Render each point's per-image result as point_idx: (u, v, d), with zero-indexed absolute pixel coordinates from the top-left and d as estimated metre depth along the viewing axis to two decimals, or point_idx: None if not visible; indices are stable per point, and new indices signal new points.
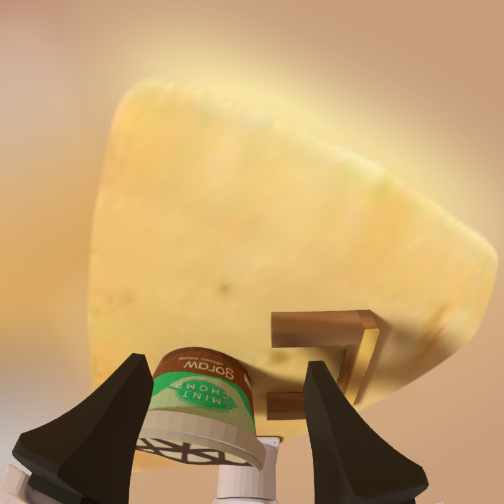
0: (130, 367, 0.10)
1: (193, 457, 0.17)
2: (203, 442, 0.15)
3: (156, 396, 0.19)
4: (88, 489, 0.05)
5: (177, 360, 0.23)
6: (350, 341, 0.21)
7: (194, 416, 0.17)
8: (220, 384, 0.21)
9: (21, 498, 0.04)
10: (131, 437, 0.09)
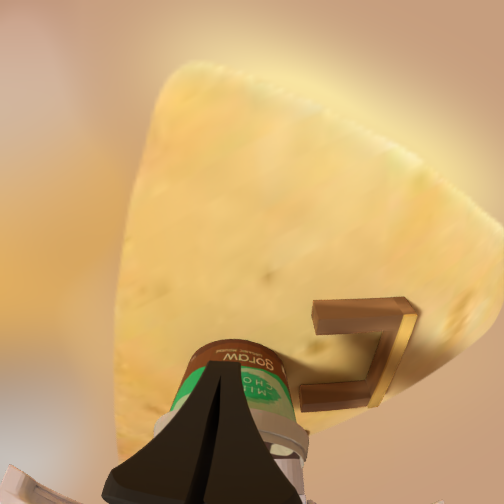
0: (215, 376, 0.10)
1: None
2: None
3: None
4: None
5: (214, 353, 0.23)
6: (389, 327, 0.20)
7: None
8: (262, 375, 0.21)
9: (21, 498, 0.04)
10: None
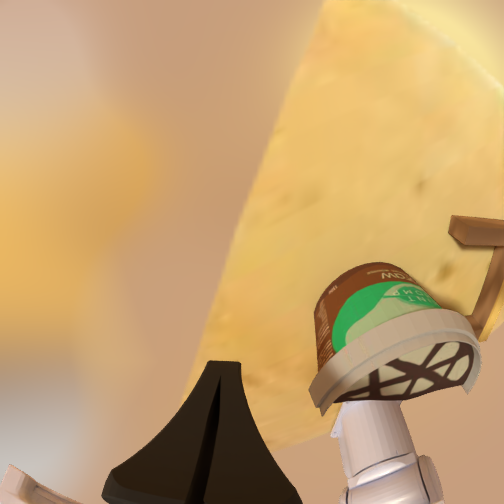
0: (215, 376, 0.10)
1: (420, 384, 0.14)
2: (464, 338, 0.12)
3: (373, 311, 0.16)
4: None
5: (367, 275, 0.19)
6: None
7: (446, 310, 0.13)
8: (424, 291, 0.17)
9: (21, 498, 0.04)
10: None
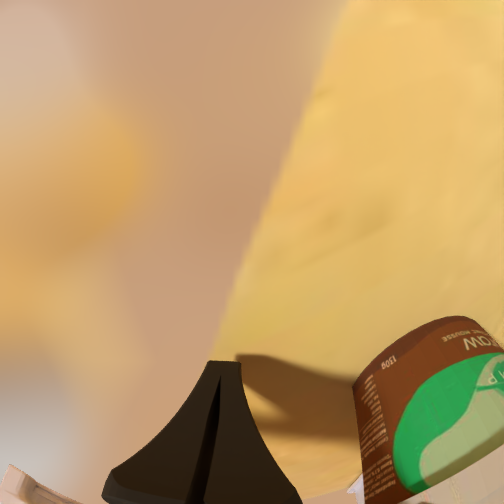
0: (215, 376, 0.10)
1: None
2: None
3: (464, 417, 0.07)
4: None
5: (443, 342, 0.10)
6: None
7: None
8: None
9: (21, 498, 0.04)
10: None
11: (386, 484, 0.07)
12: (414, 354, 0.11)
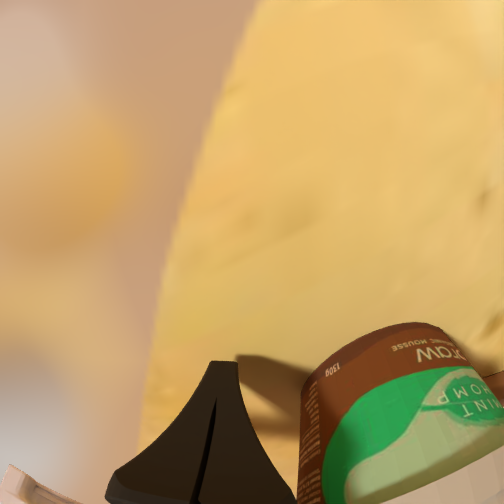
0: (217, 377, 0.10)
1: None
2: None
3: (401, 440, 0.07)
4: None
5: (392, 352, 0.10)
6: None
7: None
8: (478, 376, 0.08)
9: (21, 498, 0.04)
10: None
11: (312, 500, 0.07)
12: (358, 363, 0.11)
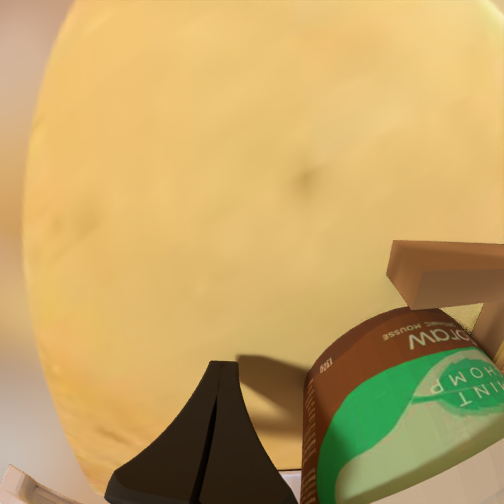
0: (217, 376, 0.10)
1: None
2: None
3: (391, 436, 0.07)
4: None
5: (382, 342, 0.10)
6: None
7: None
8: (482, 357, 0.08)
9: (21, 499, 0.04)
10: None
11: (309, 500, 0.07)
12: (349, 356, 0.11)
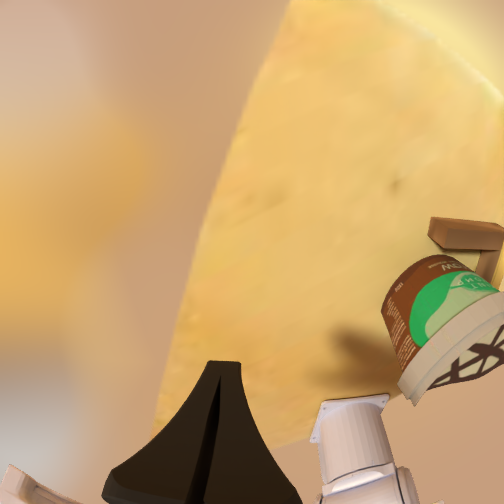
0: (215, 377, 0.10)
1: (489, 361, 0.13)
2: None
3: (445, 303, 0.15)
4: None
5: (429, 269, 0.19)
6: (495, 246, 0.17)
7: None
8: (480, 277, 0.16)
9: (21, 498, 0.04)
10: None
11: (410, 351, 0.16)
12: (412, 278, 0.19)
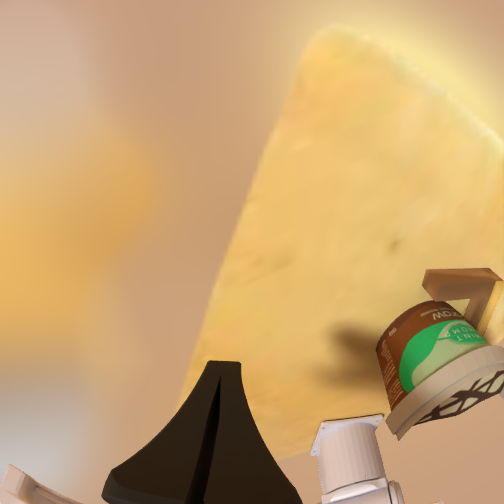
0: (214, 376, 0.10)
1: (468, 402, 0.15)
2: (500, 367, 0.13)
3: (431, 354, 0.17)
4: None
5: (420, 317, 0.20)
6: (485, 293, 0.19)
7: (487, 347, 0.14)
8: (467, 324, 0.18)
9: (21, 499, 0.04)
10: None
11: (398, 394, 0.17)
12: (405, 325, 0.21)
